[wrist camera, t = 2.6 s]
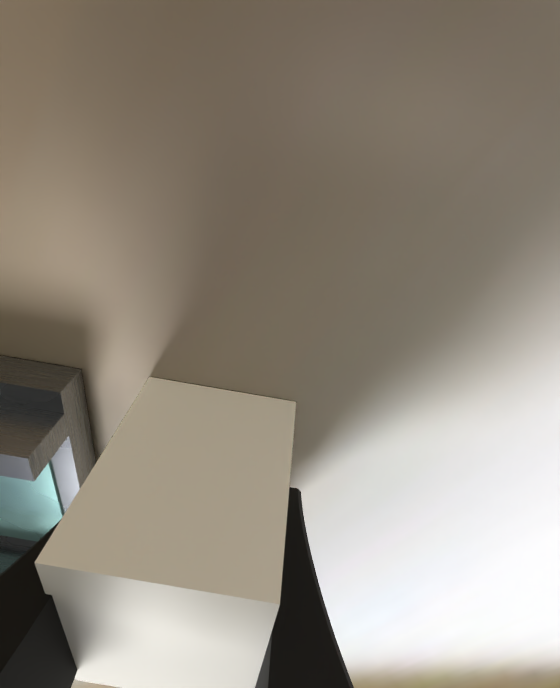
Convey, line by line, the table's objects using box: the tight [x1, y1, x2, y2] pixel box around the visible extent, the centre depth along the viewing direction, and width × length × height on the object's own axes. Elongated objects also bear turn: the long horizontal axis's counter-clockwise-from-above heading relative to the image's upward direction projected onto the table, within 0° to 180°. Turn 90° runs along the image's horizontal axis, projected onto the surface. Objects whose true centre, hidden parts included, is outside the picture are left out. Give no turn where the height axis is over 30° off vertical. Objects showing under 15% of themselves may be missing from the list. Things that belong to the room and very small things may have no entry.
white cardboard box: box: [34, 377, 296, 688], centre depth 10 cm, size 4×6×5 cm
